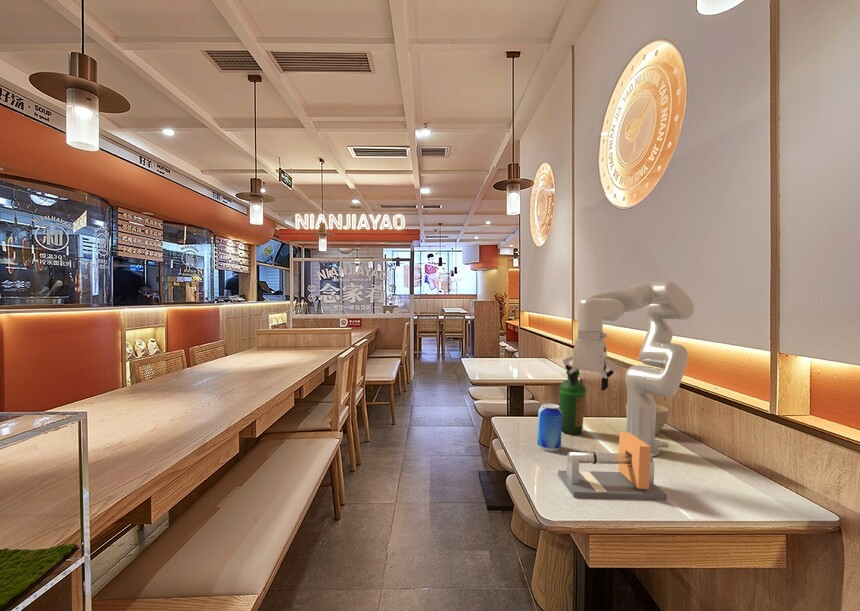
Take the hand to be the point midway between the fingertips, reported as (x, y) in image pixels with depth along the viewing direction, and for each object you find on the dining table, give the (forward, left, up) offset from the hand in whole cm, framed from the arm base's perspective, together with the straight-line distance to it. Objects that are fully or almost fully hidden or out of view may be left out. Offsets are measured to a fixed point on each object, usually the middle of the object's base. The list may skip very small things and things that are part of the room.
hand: (588, 387), depth 132 cm
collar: (-9, +14, -24) cm, 29 cm away
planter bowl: (-41, -38, -27) cm, 62 cm away
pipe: (-2, +14, -25) cm, 29 cm away
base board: (-2, +14, -27) cm, 30 cm away
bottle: (-8, -35, -27) cm, 45 cm away
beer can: (+7, -16, -27) cm, 32 cm away
